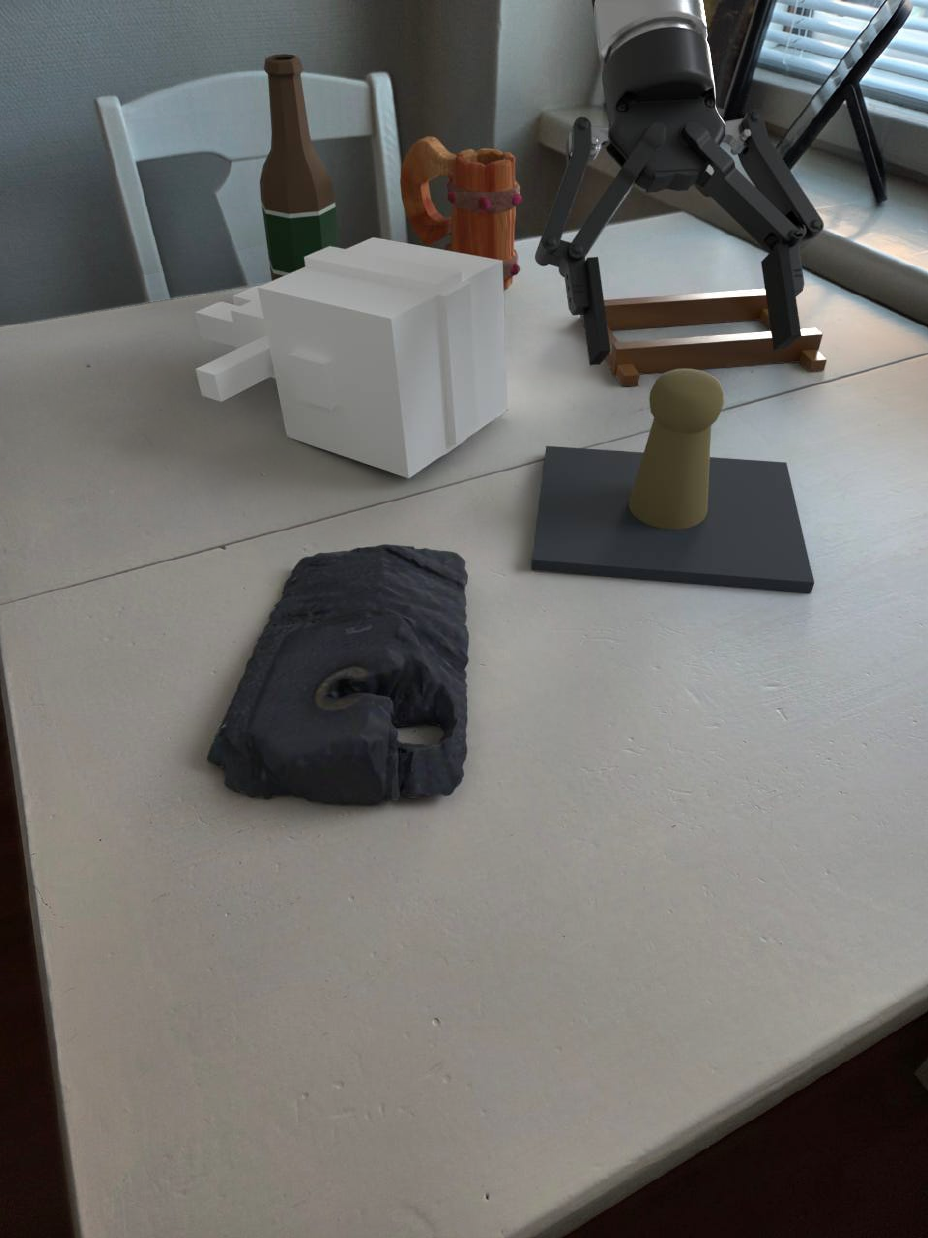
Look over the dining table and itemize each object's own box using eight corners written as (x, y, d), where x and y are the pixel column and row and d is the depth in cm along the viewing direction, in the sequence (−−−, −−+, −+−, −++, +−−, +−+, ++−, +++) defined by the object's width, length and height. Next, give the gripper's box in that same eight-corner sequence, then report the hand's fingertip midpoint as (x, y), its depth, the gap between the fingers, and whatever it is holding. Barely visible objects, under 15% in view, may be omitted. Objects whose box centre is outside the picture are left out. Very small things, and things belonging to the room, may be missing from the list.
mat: (783, 472, 80) (786, 462, 79) (811, 593, 68) (814, 582, 67) (545, 455, 81) (546, 445, 81) (531, 570, 70) (531, 559, 69)
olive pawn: (671, 539, 71) (695, 406, 63) (612, 503, 74) (628, 374, 67) (723, 510, 74) (752, 379, 66) (664, 476, 77) (685, 349, 70)
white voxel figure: (330, 339, 102) (548, 396, 89) (145, 433, 88) (373, 520, 74) (307, 194, 93) (547, 232, 79) (97, 272, 78) (346, 336, 64)
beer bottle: (319, 284, 109) (295, 44, 93) (358, 306, 105) (340, 58, 89) (260, 302, 105) (225, 55, 89) (298, 325, 101) (267, 70, 85)
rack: (577, 317, 103) (579, 292, 101) (761, 304, 105) (766, 279, 103) (620, 387, 91) (623, 359, 89) (826, 370, 93) (833, 343, 92)
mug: (534, 284, 109) (541, 143, 99) (500, 310, 104) (504, 163, 94) (427, 260, 115) (423, 124, 105) (389, 283, 110) (382, 142, 100)
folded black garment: (498, 576, 69) (499, 522, 66) (458, 822, 53) (457, 767, 49) (293, 559, 70) (285, 506, 67) (191, 793, 54) (175, 738, 51)
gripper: (795, 83, 72) (835, 354, 71) (473, 97, 69) (509, 382, 68) (846, 13, 65) (892, 316, 64) (488, 26, 62) (529, 344, 60)
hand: (695, 351), depth 66 cm, fingers open, 13 cm apart
